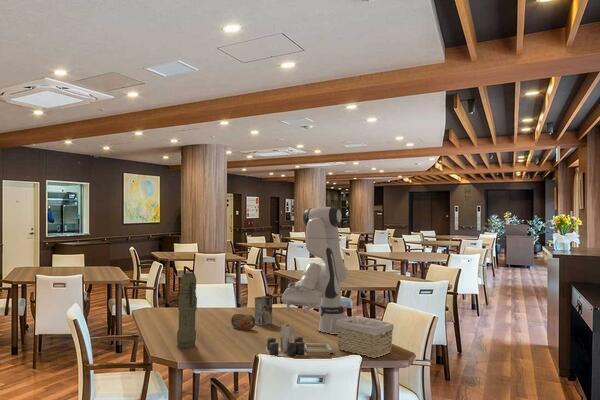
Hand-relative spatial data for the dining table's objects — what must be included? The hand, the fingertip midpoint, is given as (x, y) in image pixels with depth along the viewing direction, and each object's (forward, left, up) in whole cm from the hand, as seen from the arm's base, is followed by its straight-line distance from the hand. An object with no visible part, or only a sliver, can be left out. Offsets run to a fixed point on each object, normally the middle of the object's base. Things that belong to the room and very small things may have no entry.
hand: (296, 311), depth 227 cm
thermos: (+53, -8, -18) cm, 56 cm away
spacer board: (+6, +8, -18) cm, 21 cm away
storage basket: (-32, +7, -18) cm, 38 cm away
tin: (+25, -44, -18) cm, 54 cm away
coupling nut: (+6, +8, -17) cm, 20 cm away
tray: (-10, +4, -18) cm, 21 cm away
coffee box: (+13, -56, -18) cm, 60 cm away
